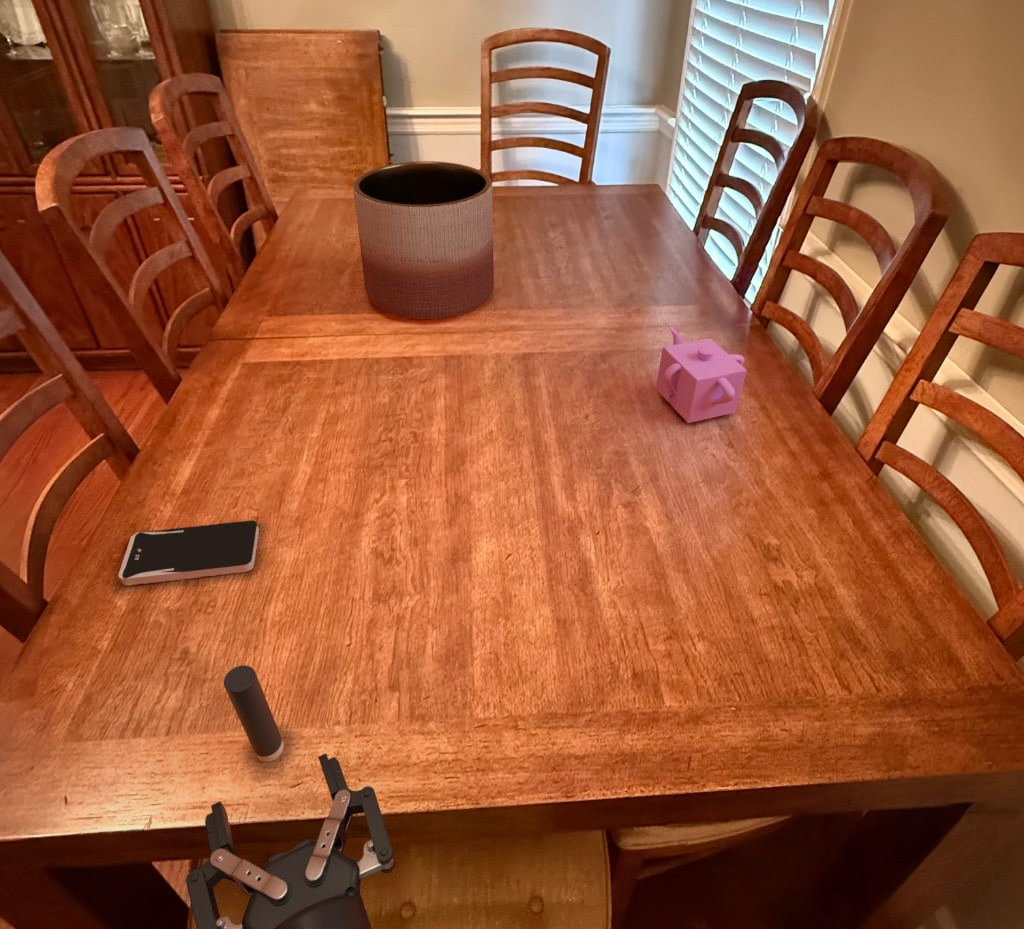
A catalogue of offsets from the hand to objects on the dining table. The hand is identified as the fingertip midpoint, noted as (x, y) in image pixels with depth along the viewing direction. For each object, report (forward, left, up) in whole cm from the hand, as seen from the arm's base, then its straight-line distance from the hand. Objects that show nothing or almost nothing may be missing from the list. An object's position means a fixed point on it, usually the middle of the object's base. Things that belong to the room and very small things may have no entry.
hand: (272, 782), depth 57 cm
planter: (+96, +35, -7) cm, 102 cm away
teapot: (+79, -21, -7) cm, 82 cm away
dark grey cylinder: (+5, +6, -7) cm, 10 cm away
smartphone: (+22, +30, -7) cm, 37 cm away
